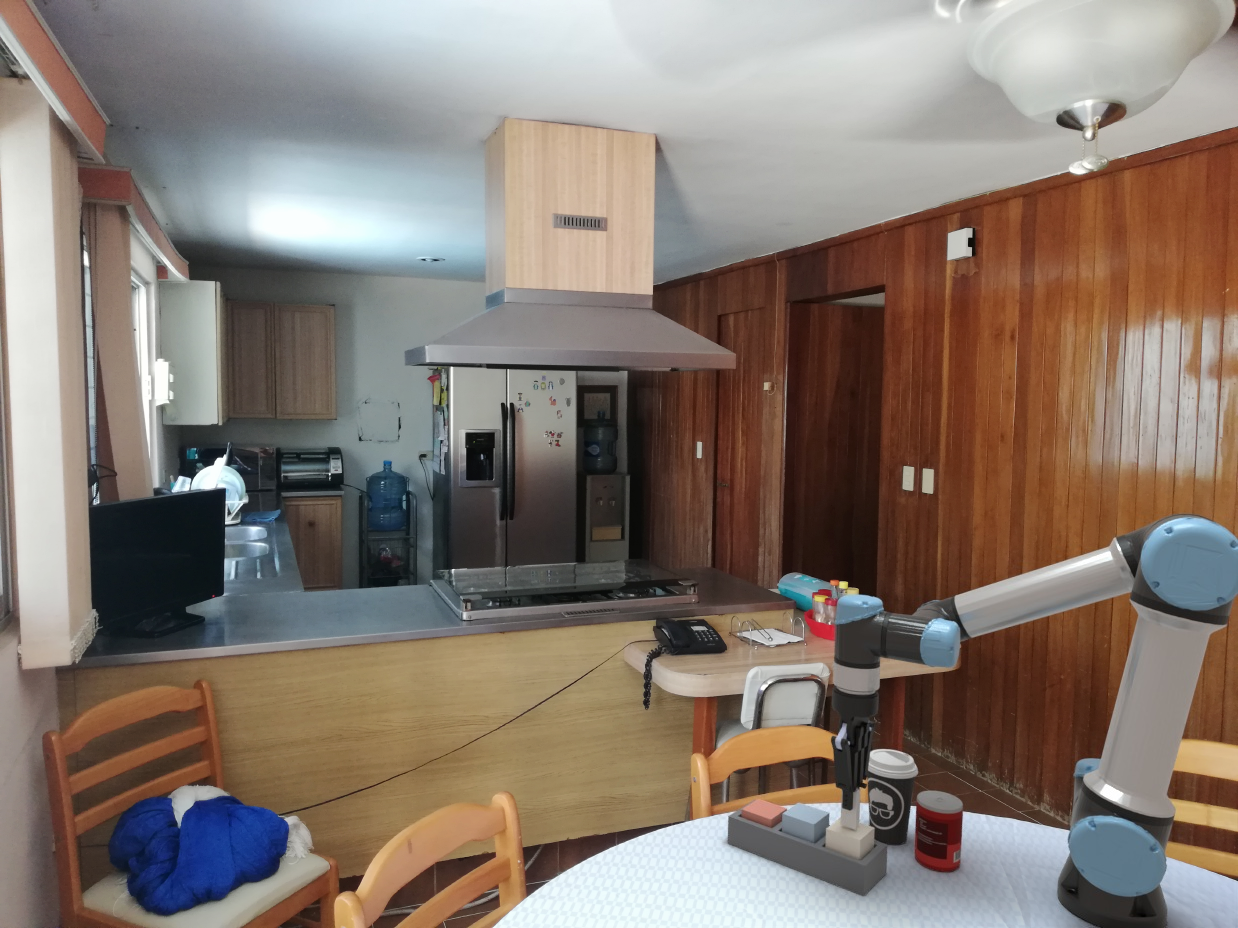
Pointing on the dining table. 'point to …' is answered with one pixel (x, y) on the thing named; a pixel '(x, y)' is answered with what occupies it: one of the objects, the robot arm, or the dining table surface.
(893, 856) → the dining table surface
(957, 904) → the dining table surface
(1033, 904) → the dining table surface
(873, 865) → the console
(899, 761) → the coffee cup
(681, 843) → the dining table surface
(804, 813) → the key blue
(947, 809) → the canned food
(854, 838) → the key ivory
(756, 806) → the key brick
